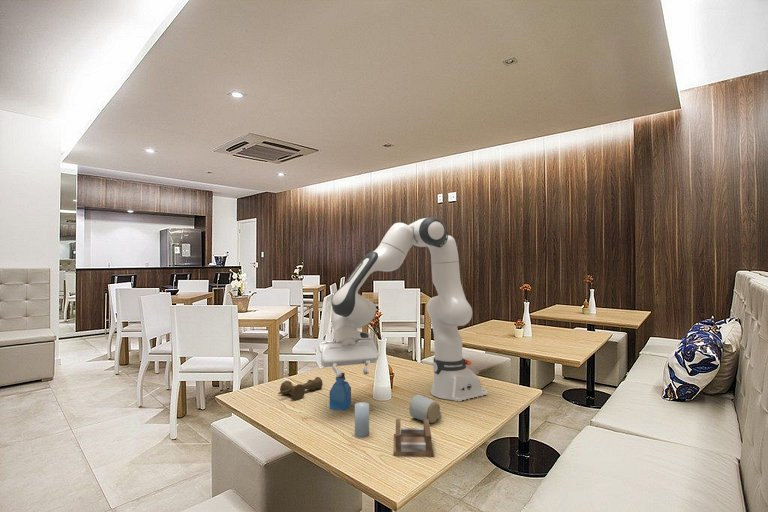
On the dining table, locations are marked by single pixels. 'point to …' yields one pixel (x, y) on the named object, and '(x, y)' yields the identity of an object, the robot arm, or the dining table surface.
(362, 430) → the paper roll
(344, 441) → the dining table surface
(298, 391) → the kendama
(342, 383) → the perfume bottle
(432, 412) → the ceramic mug
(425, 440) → the holder
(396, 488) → the dining table surface
